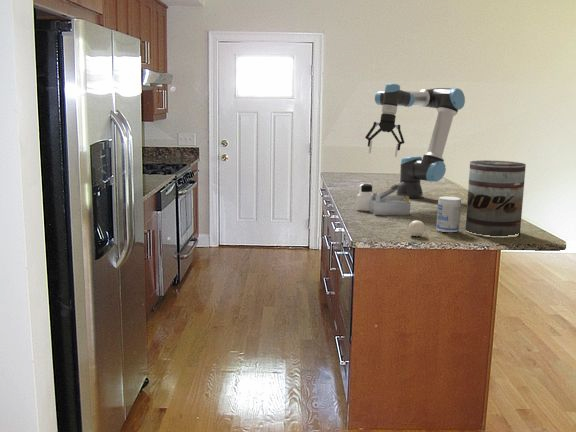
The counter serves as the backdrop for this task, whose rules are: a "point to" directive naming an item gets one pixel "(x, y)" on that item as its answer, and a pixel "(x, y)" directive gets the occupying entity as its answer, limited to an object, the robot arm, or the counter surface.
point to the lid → (392, 189)
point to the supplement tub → (448, 214)
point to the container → (364, 197)
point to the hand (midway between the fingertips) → (382, 155)
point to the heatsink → (389, 205)
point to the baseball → (416, 228)
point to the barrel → (495, 197)
